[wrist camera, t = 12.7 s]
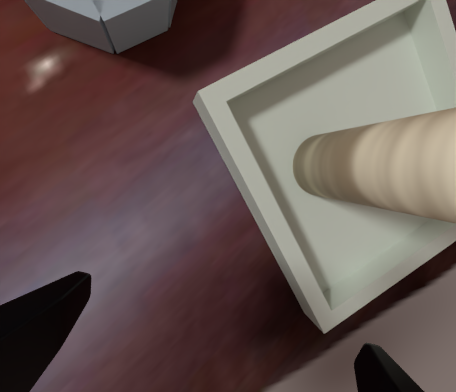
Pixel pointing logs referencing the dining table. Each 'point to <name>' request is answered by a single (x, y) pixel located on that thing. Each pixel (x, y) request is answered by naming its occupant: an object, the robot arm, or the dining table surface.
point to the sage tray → (329, 122)
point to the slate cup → (106, 20)
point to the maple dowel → (386, 165)
